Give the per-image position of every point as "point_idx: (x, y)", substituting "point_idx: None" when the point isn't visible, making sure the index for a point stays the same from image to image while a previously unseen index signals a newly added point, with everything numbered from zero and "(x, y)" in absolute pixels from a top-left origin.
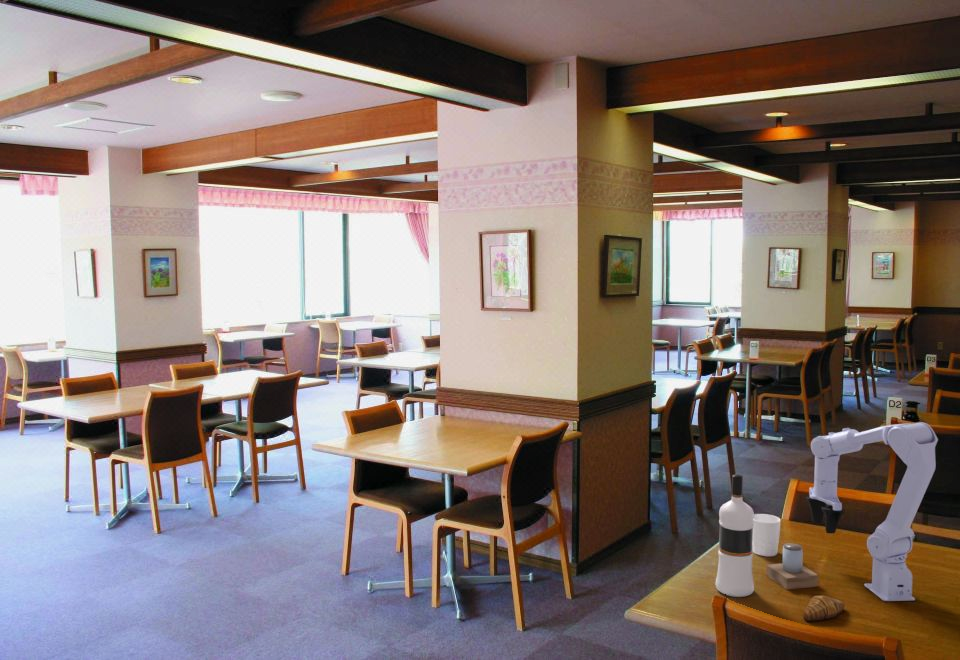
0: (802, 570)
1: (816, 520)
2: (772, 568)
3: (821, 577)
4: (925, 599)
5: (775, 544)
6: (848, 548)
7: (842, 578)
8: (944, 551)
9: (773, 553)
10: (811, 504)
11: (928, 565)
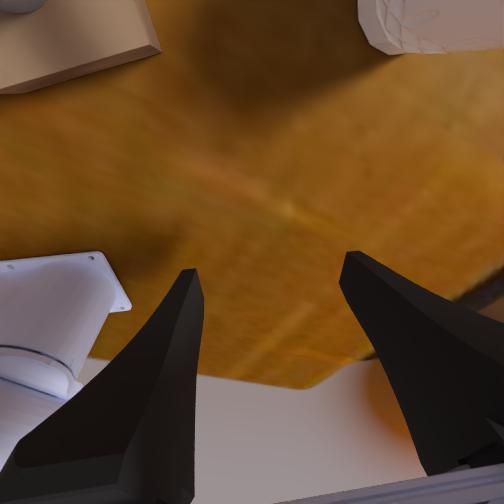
0: (8, 15)
1: (352, 273)
2: None
3: (136, 149)
4: None
5: (386, 2)
6: None
7: (146, 214)
8: (301, 385)
9: (363, 6)
10: (457, 349)
11: (248, 364)
